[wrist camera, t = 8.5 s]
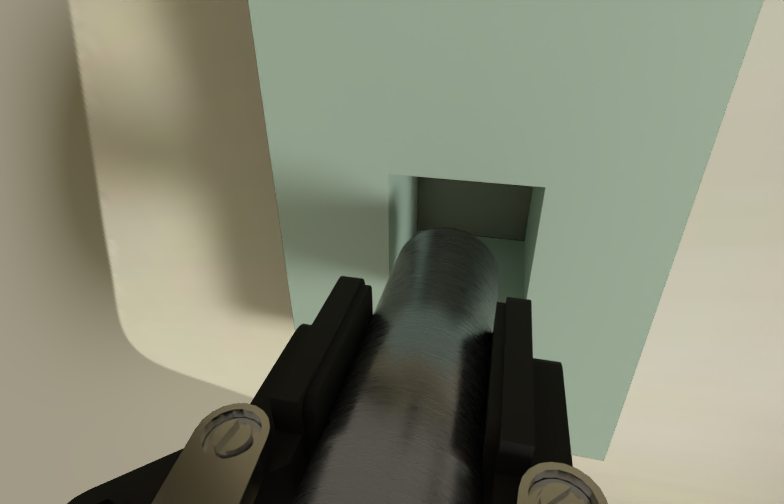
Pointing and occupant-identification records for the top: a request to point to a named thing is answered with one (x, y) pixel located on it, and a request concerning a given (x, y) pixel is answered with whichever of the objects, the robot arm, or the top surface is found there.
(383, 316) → the peg
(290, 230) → the green block with hole
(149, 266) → the top surface
